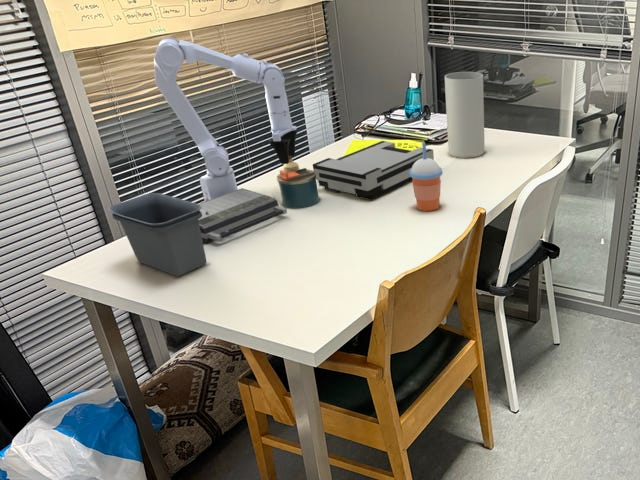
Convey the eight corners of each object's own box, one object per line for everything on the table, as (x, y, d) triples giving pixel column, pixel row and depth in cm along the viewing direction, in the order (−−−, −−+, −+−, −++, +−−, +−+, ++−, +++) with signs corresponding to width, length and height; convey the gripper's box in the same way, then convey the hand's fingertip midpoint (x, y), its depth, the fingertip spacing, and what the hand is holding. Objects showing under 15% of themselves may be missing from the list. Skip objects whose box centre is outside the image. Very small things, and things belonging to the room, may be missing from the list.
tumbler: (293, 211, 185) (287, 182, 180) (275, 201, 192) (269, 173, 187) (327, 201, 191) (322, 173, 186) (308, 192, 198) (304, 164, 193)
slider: (285, 180, 183) (284, 174, 182) (279, 176, 186) (278, 170, 185) (300, 176, 186) (299, 170, 185) (293, 173, 188) (292, 167, 187)
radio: (240, 185, 189) (286, 198, 179) (244, 202, 192) (289, 216, 182) (163, 212, 173) (209, 228, 163) (169, 231, 176) (215, 248, 166)
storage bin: (121, 263, 159) (100, 207, 151) (176, 241, 170) (160, 187, 162) (174, 285, 149) (155, 226, 141) (230, 259, 160) (215, 203, 152)
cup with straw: (439, 214, 181) (435, 148, 170) (408, 212, 182) (402, 147, 172) (447, 202, 188) (444, 138, 178) (417, 200, 190) (412, 137, 179)
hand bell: (292, 187, 202) (281, 134, 193) (274, 182, 206) (264, 130, 197) (312, 179, 207) (303, 128, 198) (295, 175, 211) (285, 124, 202)
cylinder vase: (444, 150, 229) (440, 73, 215) (478, 146, 232) (476, 70, 218) (454, 160, 219) (450, 81, 205) (489, 156, 222) (488, 77, 208)
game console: (434, 171, 211) (432, 145, 206) (369, 203, 189) (365, 175, 184) (384, 161, 220) (382, 137, 216) (317, 191, 198) (312, 164, 194)
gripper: (286, 117, 178) (295, 166, 186) (298, 104, 190) (307, 151, 198) (261, 118, 178) (271, 167, 186) (274, 105, 190) (283, 152, 198)
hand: (288, 159), depth 192 cm, fingers open, 7 cm apart
